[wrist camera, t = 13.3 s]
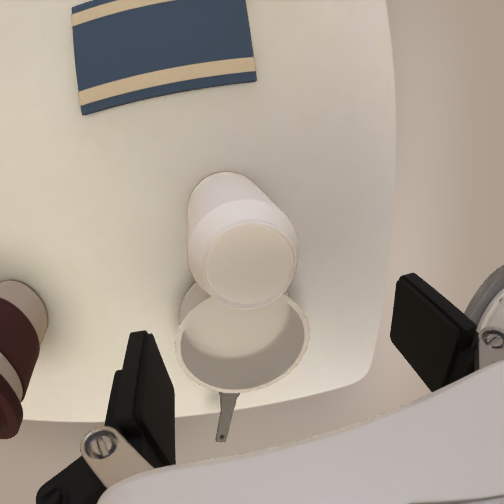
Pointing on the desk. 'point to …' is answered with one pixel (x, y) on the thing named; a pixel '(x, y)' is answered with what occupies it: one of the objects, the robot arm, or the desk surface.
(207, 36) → the towel
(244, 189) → the beverage can
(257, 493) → the robot arm
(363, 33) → the desk surface
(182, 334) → the saucepan
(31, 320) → the coffee cup
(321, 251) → the desk surface
